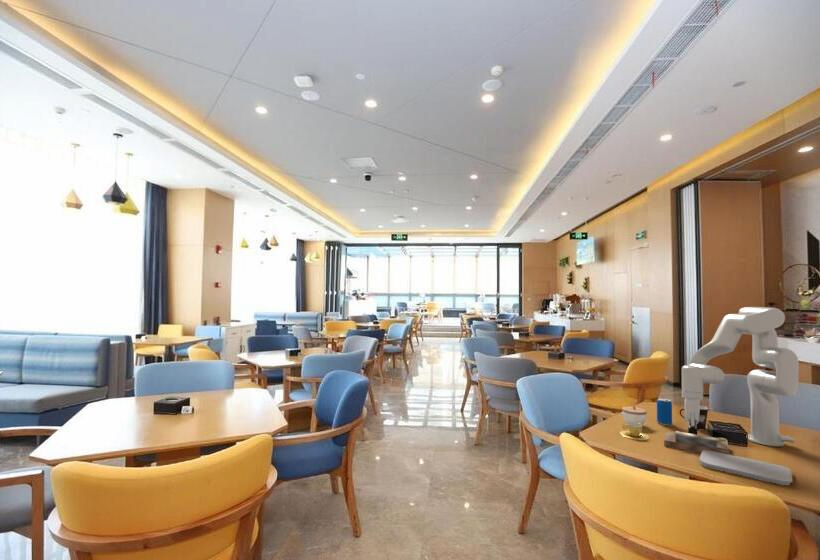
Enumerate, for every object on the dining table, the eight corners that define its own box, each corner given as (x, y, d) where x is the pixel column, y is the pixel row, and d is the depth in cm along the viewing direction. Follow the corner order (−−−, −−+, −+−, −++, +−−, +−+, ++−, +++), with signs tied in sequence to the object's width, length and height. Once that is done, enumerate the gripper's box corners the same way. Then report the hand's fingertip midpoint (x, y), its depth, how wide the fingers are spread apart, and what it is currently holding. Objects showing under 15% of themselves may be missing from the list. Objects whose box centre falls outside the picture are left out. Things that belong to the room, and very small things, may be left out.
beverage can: (674, 426, 199) (674, 401, 199) (660, 425, 200) (659, 400, 201) (668, 422, 205) (668, 398, 206) (654, 421, 206) (654, 397, 207)
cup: (652, 436, 185) (652, 424, 185) (645, 443, 176) (645, 430, 177) (623, 429, 193) (623, 418, 194) (616, 436, 185) (616, 424, 185)
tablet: (702, 454, 165) (702, 448, 165) (790, 473, 148) (790, 467, 148) (698, 467, 152) (698, 461, 152) (793, 489, 135) (793, 483, 135)
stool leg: (727, 447, 164) (727, 438, 164) (727, 449, 162) (727, 440, 162) (675, 437, 174) (675, 429, 175) (675, 439, 172) (675, 431, 172)
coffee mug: (707, 426, 199) (707, 406, 199) (709, 431, 191) (708, 410, 192) (679, 422, 205) (678, 402, 205) (679, 427, 198) (679, 406, 198)
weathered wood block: (727, 448, 170) (727, 435, 171) (729, 458, 160) (729, 444, 160) (666, 437, 183) (666, 424, 183) (664, 445, 172) (664, 433, 173)
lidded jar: (621, 426, 198) (621, 406, 198) (622, 420, 207) (622, 402, 208) (646, 430, 193) (646, 410, 193) (647, 424, 202) (646, 405, 202)
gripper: (682, 390, 183) (682, 430, 182) (681, 396, 170) (682, 440, 170) (702, 392, 178) (703, 434, 178) (703, 399, 166) (704, 444, 166)
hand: (692, 437), depth 174 cm, fingers closed
